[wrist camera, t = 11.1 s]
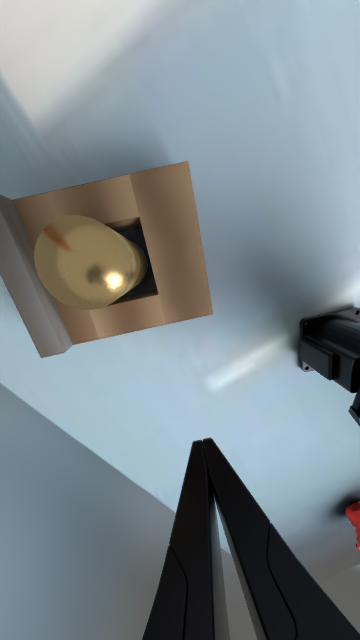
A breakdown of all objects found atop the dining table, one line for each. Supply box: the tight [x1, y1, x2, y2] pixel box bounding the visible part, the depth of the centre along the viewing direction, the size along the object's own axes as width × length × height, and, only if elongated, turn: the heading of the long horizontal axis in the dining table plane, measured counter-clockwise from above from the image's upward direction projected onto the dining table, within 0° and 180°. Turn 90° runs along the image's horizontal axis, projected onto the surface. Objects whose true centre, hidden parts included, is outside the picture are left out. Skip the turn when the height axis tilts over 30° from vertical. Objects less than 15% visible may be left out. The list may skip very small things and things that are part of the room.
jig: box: [0, 161, 213, 358], centre depth 15 cm, size 14×11×5 cm
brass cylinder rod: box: [34, 215, 148, 310], centre depth 13 cm, size 4×4×9 cm
